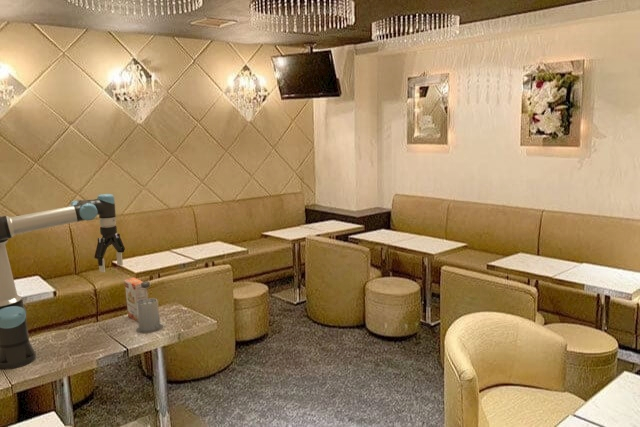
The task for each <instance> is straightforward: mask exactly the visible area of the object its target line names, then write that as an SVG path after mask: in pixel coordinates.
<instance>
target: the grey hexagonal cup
mask: <svg viewBox="0 0 640 427" xmlns="http://www.w3.org/2000/svg"><path fill="white" fill-rule="evenodd" d="M148 302H153V303H149V304H143V303H146V299H142V300H139V301H137V303H136V305H137V316H138V321H137V324H138V327H139V331H140V332H152V331H156V330H158V329H159V328H160V324H161V320H160V311H159V300H158V299H157V298H156V297H155V298H153V297H148Z"/></svg>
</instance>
